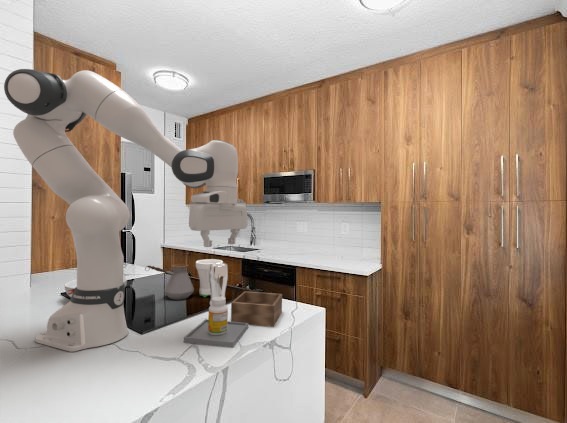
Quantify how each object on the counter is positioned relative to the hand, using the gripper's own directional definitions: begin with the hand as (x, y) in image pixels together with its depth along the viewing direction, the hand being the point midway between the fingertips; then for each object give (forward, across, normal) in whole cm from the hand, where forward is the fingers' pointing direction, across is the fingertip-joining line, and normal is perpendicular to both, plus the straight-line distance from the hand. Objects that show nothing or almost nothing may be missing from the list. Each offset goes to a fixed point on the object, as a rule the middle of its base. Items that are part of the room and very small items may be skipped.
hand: (220, 245), depth 89 cm
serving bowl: (+26, +4, -62) cm, 68 cm away
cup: (+26, -26, -32) cm, 49 cm away
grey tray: (+26, 0, 0) cm, 26 cm away
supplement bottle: (+25, 0, 0) cm, 25 cm away
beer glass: (+26, -20, -21) cm, 39 cm away
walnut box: (+26, -18, 0) cm, 31 cm away
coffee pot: (+26, -12, -39) cm, 48 cm away
